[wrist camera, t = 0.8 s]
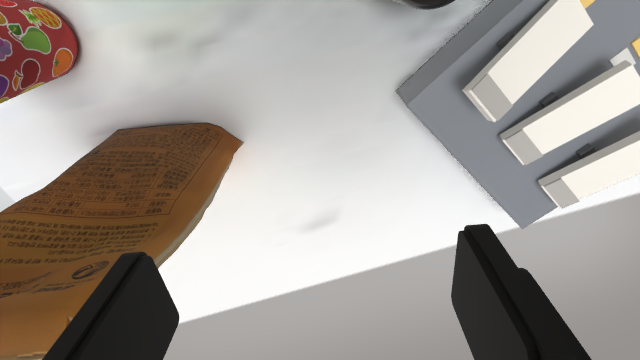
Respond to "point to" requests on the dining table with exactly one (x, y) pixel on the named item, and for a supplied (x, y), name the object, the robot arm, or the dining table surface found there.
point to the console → (522, 98)
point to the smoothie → (32, 47)
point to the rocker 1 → (527, 57)
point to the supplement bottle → (424, 3)
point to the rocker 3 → (594, 172)
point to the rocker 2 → (575, 113)
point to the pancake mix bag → (102, 224)
